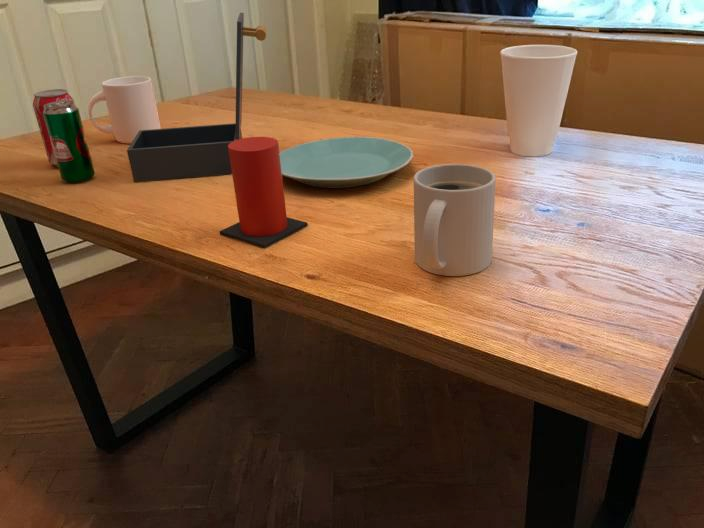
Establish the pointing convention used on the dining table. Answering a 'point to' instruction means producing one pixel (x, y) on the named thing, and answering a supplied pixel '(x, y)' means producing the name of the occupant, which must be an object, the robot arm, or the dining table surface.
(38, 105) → the beverage can
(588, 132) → the dining table surface
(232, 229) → the rubber mat
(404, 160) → the plate
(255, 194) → the red cylinder
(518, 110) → the cup
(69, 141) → the soda can
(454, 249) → the mug
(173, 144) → the dark grey open box
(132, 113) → the mug
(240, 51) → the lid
